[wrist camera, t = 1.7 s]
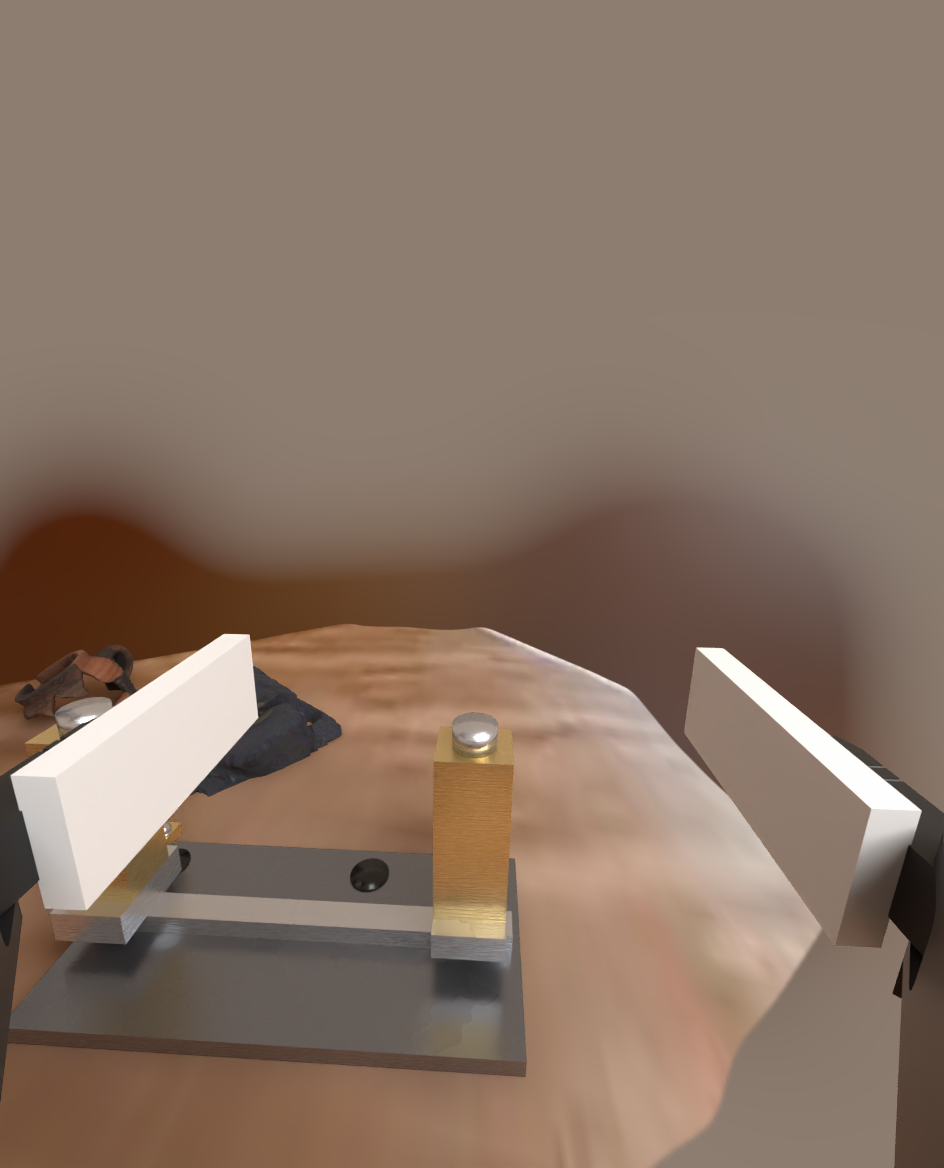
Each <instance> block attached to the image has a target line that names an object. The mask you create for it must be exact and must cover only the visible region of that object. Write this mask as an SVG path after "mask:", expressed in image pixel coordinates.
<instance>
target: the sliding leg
mask: <svg viewBox="0 0 944 1168" xmlns="http://www.w3.org/2000/svg"><path fill="white" fill-rule="evenodd" d="M513 772H514V760H513V745H512V731H511V729H498V722H497V721H496V720H495V719H494V718H493V717H492V716H490V715H487V714H484V713H477V712H472V713H465V714H462V715H459V716H457V717H456V718H455V719H454V720H453V722H452V727H440V729H439V734H438V740H437V745H436V750H435V755H434V761H433V923H432V931H431V958H441V959H458V960H476V961H493V962H505V951H506V907H507V888H508V869H509V849H510V830H511V811H512V791H513Z"/></svg>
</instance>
